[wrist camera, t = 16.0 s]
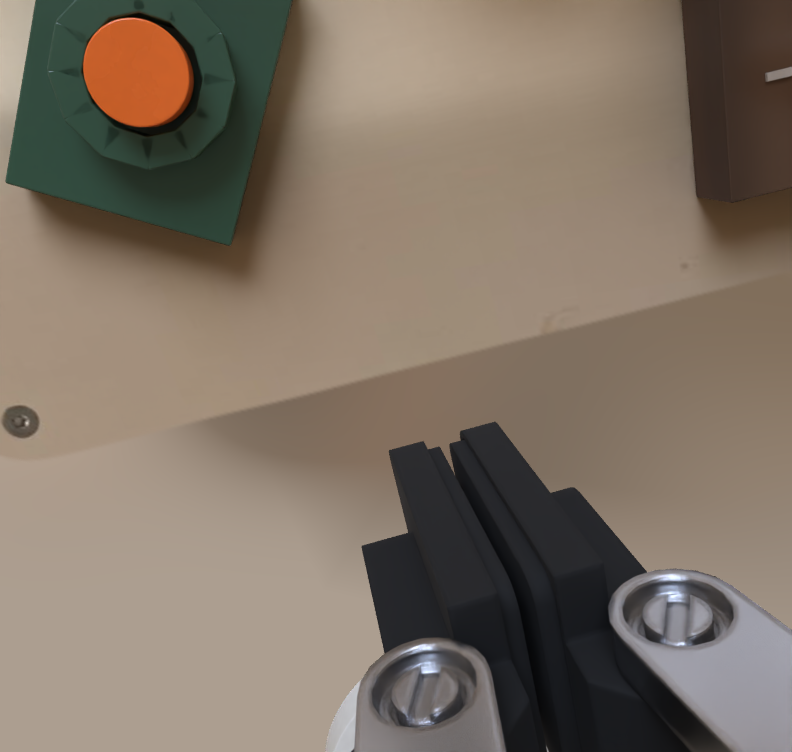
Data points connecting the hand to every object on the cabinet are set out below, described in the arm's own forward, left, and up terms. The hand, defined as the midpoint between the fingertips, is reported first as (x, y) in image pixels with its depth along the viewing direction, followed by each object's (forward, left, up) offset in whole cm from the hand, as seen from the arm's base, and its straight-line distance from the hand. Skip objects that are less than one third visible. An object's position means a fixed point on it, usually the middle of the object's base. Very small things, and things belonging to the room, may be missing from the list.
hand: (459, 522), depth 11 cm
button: (+5, +9, -21) cm, 24 cm away
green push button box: (+5, +9, -25) cm, 27 cm away
